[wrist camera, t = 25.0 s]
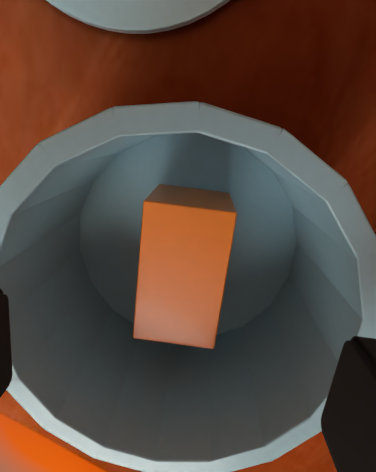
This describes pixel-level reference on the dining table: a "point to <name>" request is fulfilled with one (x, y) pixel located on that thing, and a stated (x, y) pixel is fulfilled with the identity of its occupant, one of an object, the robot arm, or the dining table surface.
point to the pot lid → (137, 13)
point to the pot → (234, 299)
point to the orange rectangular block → (183, 265)
